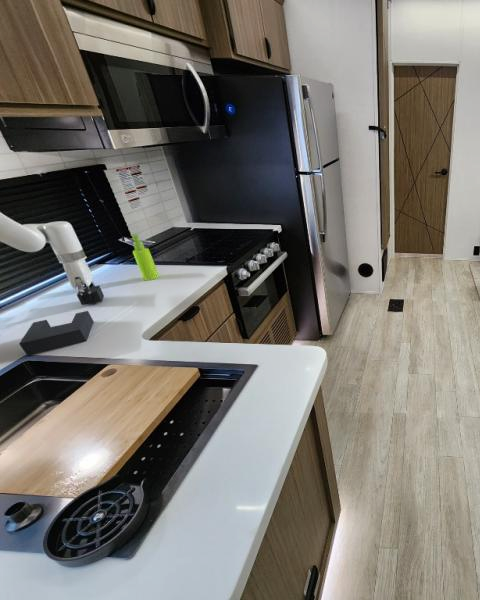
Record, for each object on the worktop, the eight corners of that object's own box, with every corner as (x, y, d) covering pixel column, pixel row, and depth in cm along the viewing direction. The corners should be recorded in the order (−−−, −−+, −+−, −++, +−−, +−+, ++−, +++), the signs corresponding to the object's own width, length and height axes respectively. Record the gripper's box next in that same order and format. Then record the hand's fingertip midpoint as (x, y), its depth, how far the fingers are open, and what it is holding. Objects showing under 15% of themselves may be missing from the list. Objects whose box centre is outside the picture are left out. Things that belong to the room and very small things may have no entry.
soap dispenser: (157, 273, 154) (140, 231, 145) (160, 277, 150) (144, 234, 141) (142, 277, 151) (124, 234, 141) (145, 281, 146) (127, 237, 137)
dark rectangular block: (27, 355, 100) (18, 343, 98) (40, 333, 110) (33, 322, 108) (86, 341, 106) (80, 329, 104) (93, 321, 117) (88, 310, 115)
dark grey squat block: (81, 305, 126) (76, 295, 124) (84, 299, 130) (79, 289, 128) (101, 301, 129) (97, 291, 127) (104, 295, 133) (99, 285, 131)
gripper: (63, 251, 126) (84, 293, 134) (51, 265, 113) (75, 311, 121) (88, 247, 129) (107, 289, 138) (80, 261, 116) (101, 306, 125)
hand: (92, 299), depth 129 cm, fingers closed on dark grey squat block, 6 cm apart
